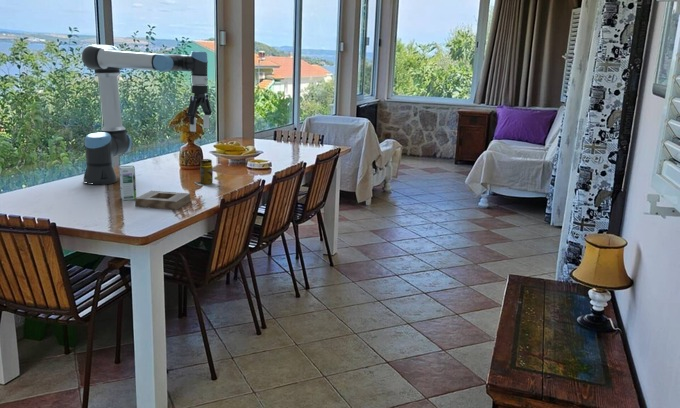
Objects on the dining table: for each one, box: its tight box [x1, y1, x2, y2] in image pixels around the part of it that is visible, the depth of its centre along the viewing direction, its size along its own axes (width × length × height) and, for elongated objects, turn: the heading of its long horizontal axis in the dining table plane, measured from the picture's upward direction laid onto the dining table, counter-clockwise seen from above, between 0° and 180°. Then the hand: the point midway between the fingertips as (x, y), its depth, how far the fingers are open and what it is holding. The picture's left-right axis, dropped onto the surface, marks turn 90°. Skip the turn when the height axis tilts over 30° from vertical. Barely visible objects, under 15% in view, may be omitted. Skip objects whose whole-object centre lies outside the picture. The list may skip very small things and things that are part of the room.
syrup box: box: [118, 164, 137, 201], centre depth 258 cm, size 6×6×14 cm
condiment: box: [194, 158, 215, 186], centre depth 293 cm, size 7×8×12 cm
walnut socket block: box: [134, 190, 191, 211], centre depth 253 cm, size 18×15×4 cm
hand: (199, 129), depth 285 cm, fingers open, 13 cm apart
